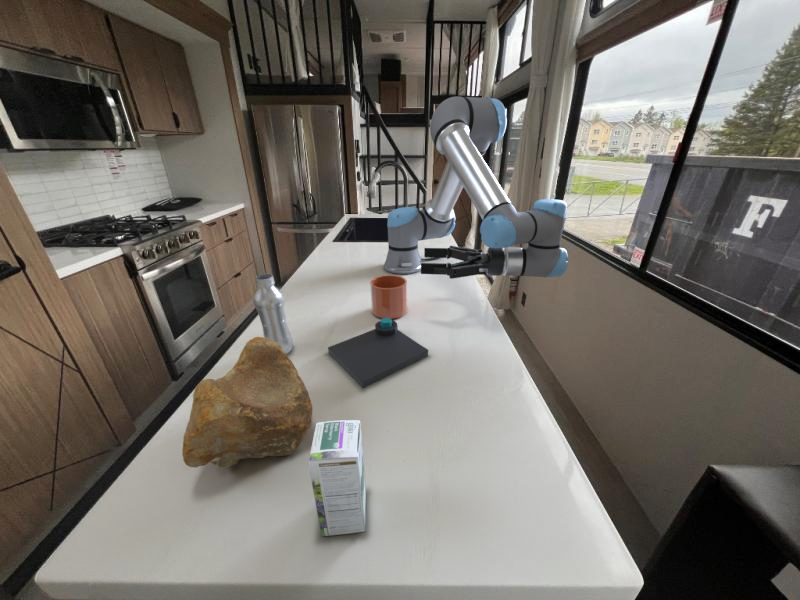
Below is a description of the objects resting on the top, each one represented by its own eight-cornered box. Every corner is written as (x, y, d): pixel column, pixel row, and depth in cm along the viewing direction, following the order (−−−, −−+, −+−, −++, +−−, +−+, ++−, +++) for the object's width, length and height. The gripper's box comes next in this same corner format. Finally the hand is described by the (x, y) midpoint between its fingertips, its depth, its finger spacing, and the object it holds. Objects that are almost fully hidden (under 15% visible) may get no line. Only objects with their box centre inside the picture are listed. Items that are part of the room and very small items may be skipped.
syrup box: (326, 494, 47) (313, 421, 41) (367, 490, 47) (360, 417, 41) (321, 537, 42) (304, 461, 35) (367, 533, 42) (358, 456, 36)
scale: (389, 328, 89) (388, 317, 87) (429, 356, 77) (429, 343, 75) (328, 353, 79) (326, 341, 77) (363, 388, 67) (362, 375, 65)
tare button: (387, 322, 85) (387, 316, 85) (393, 326, 83) (393, 320, 83) (378, 325, 84) (378, 319, 83) (384, 330, 82) (384, 324, 81)
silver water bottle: (300, 347, 81) (286, 272, 73) (283, 362, 76) (265, 284, 67) (278, 342, 83) (262, 270, 75) (260, 357, 78) (241, 280, 69)
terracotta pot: (393, 301, 104) (392, 272, 99) (414, 313, 96) (414, 282, 92) (365, 311, 98) (363, 280, 94) (385, 324, 91) (384, 292, 86)
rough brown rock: (287, 510, 46) (278, 432, 40) (175, 494, 47) (149, 415, 41) (333, 398, 67) (332, 336, 61) (255, 388, 68) (247, 326, 62)
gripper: (508, 293, 76) (419, 290, 79) (495, 260, 99) (425, 258, 101) (512, 263, 73) (419, 261, 76) (497, 235, 95) (425, 235, 98)
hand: (422, 260), depth 89 cm, fingers open, 13 cm apart
